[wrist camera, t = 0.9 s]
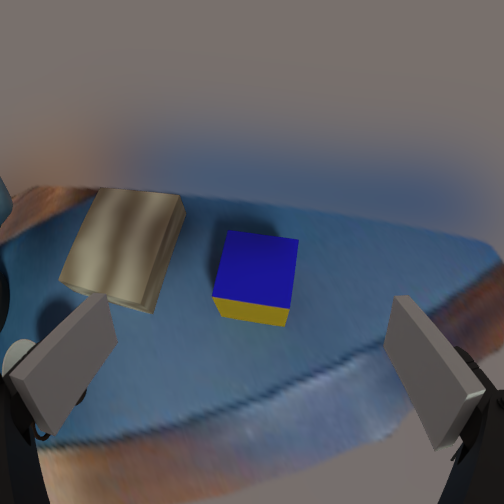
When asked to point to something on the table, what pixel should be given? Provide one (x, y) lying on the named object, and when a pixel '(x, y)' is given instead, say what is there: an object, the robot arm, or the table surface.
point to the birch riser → (125, 247)
